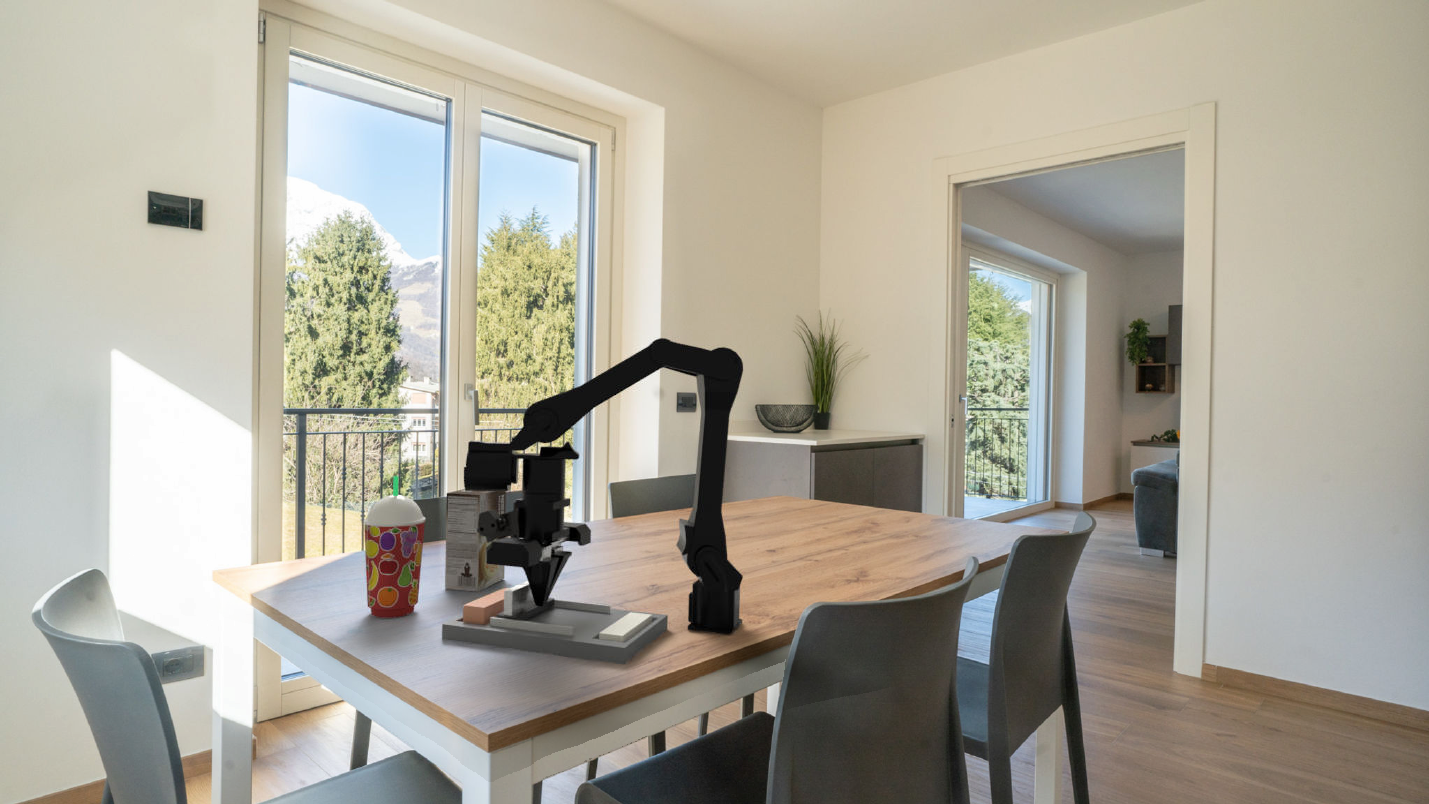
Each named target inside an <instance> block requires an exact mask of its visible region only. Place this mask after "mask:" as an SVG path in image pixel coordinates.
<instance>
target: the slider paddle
mask: <svg viewBox="0 0 1429 804" xmlns="http://www.w3.org/2000/svg"><path fill="white" fill-rule="evenodd" d="M554 599H555V598H554V597H549V598H548V600H547V602H546V604H545V605H544V606H536V605H535V602H534V599H533V595H532V592H531V589H530V586H529V582H528V580H527V581H524V582H521V583H519V584H517V585H515V586H512V587H510V589H507V590H505V591H504V611H503V612H501V613H499V614H497V618H504V619H512V620H520V621H525V620H527V619H529V618H531V617H533V616H534V615H536V614H538V613H540V612H542V611H544V610H546V609H548V608H550V607H552V606H554Z"/></svg>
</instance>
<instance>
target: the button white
mask: <svg viewBox="0 0 1429 804" xmlns="http://www.w3.org/2000/svg"><path fill="white" fill-rule="evenodd" d="M651 623H652V615H650V614H641V613H633V612H630V613H629V614H627V615H626V616H624V617H623V618H621V619H620V620H618V621H617V622H615V623H614V624H612V625H611V626H609V627H608V628H606V629H605V630H603V631H601V632H600V633H599V639H601V640H608V641H616V642H624V643H626V642H627V641H628V640H630V639H631V638H632V637H634V636H635V635H636V634H638V633H639V632H640V631H642V630H643V629H644V628H646V627H647V626H648V625H650V624H651Z"/></svg>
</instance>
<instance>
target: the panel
mask: <svg viewBox="0 0 1429 804" xmlns="http://www.w3.org/2000/svg"><path fill="white" fill-rule="evenodd" d="M630 612H633V613H641V614H650V615H652V623H651V624H650V625H648V626H647V627H646V628H644V629H643V630H642V631H640V632H639V633H638V634H636V635H635V636H634V637H632V638H631V639H630V640H628V641H627V642H626V643H624V642H616V641H608V640H601V639H599V633H600V632H601V631H603V630H605V629H606V628H608V627H609V626H611V625H612V624H614V623H615V622H617V621H618V620H620V619H621V618H623V617H624V616H626V615H627V614H629V613H630ZM668 619H669V618H668V614H662V613H661V614H660V613H653V612H652V613H651V612H645V611H635V610H626V609H618V608H611V605H609V604H602V603H592V602H583V601H576V600H567V599H558V598H554V606H552V607H550V608H548V609H546V610H544V611H542V612H540V613H538V614H536V615H534V616H533V617H531V618H529V619H527V620H525V621H520V620H512V619H504V618H496V617H491V618H490V623H488V624H486V625H483V624H475V623H468V622H463V614H461V615H460V616H458V617H456V618H453V619H451V620H448V621H446V622H444V623H442V626H441V639H442V640H443V641H453V642H459V643H460V642H461V643H467V644H474V645H482V646H488V647H489V646H490V647H496V648H503V649H509V650H510V649H511V650H512V649H513V650H518V651H526V652H532V653H533V652H534V653H540V654H541V653H542V654H547V655H555V656H561V657H569V658H576V659H585V660H591V661H599V662H606V663H613V664H621V665H626V664H627V663H628V662H629V661H630V660H631V659H633V658H634V657H635V656H636V655H638V654H639V653H640V652H642V650H644V649H645V648H646V647H647V646H649V645H650V644H651V643H653V642H654V641H655V640H656V639H658V637H660V636H661V635H663V633H665V632H667V630H668V623H669V621H668Z"/></svg>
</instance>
